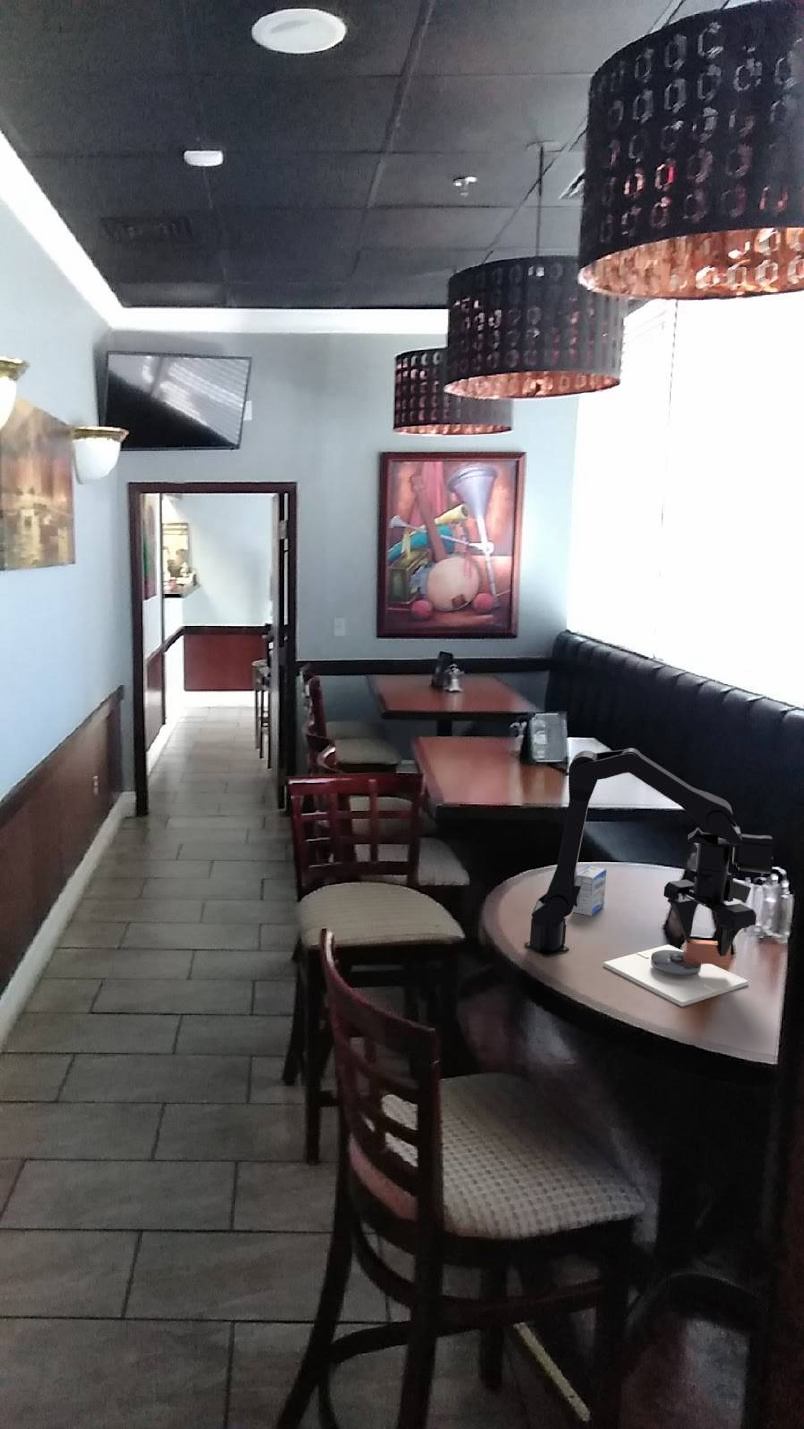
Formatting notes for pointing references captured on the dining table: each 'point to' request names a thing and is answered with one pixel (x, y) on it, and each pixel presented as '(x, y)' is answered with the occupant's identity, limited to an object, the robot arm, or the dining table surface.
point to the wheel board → (675, 978)
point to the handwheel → (689, 958)
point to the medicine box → (591, 890)
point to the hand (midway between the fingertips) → (704, 946)
